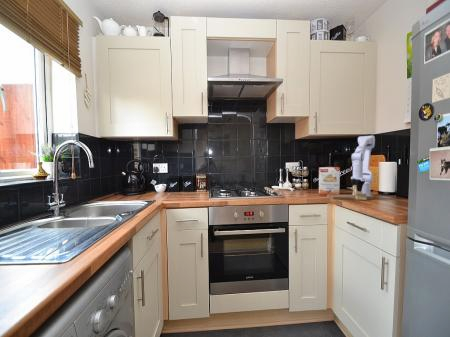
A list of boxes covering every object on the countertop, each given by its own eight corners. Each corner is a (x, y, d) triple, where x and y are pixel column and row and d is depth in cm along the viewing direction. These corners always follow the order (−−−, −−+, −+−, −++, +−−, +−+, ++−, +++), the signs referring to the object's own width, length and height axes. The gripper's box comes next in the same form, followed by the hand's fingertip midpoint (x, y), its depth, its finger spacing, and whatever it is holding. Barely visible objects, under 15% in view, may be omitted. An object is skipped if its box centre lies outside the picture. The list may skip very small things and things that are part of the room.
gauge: (349, 197, 151) (350, 185, 151) (359, 197, 150) (359, 185, 150) (356, 199, 142) (356, 186, 141) (366, 199, 141) (366, 186, 141)
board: (327, 196, 157) (327, 194, 157) (362, 196, 155) (362, 194, 155) (333, 199, 145) (333, 197, 145) (371, 199, 143) (372, 197, 143)
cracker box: (320, 194, 168) (320, 167, 168) (318, 193, 174) (318, 167, 173) (339, 194, 165) (340, 167, 164) (337, 193, 171) (338, 167, 170)
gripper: (346, 170, 154) (346, 189, 154) (356, 171, 139) (356, 192, 140) (357, 170, 153) (356, 189, 153) (368, 171, 138) (368, 192, 139)
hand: (357, 190), depth 146 cm, fingers closed on gauge, 4 cm apart
